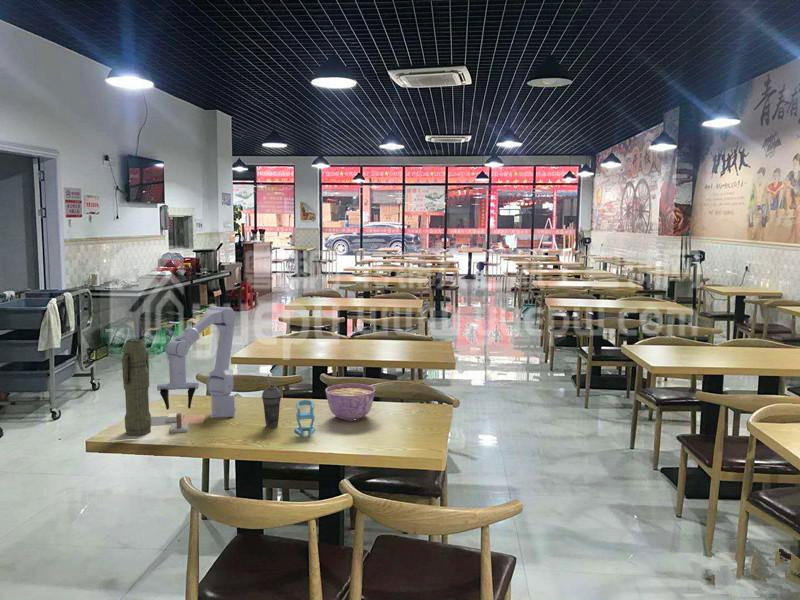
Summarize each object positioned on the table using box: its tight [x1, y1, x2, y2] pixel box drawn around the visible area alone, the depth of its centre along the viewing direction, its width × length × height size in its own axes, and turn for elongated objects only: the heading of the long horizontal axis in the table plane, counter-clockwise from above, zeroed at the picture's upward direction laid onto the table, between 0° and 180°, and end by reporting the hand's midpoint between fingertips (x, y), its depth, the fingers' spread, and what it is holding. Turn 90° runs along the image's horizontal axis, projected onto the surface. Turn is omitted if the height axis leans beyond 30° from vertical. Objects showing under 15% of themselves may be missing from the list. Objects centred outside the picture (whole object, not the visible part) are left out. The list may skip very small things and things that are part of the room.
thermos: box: [121, 338, 152, 437], centre depth 238 cm, size 9×12×35 cm
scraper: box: [169, 412, 190, 434], centre depth 244 cm, size 6×8×6 cm
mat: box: [151, 413, 206, 427], centre depth 255 cm, size 23×12×1 cm, turn 102°
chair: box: [294, 399, 316, 438], centre depth 242 cm, size 8×8×12 cm
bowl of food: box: [324, 383, 376, 421], centre depth 261 cm, size 20×20×12 cm
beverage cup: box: [261, 374, 282, 429], centre depth 249 cm, size 7×7×20 cm
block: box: [167, 412, 177, 422], centre depth 255 cm, size 5×5×2 cm
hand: (178, 408), depth 243 cm, fingers open, 7 cm apart
